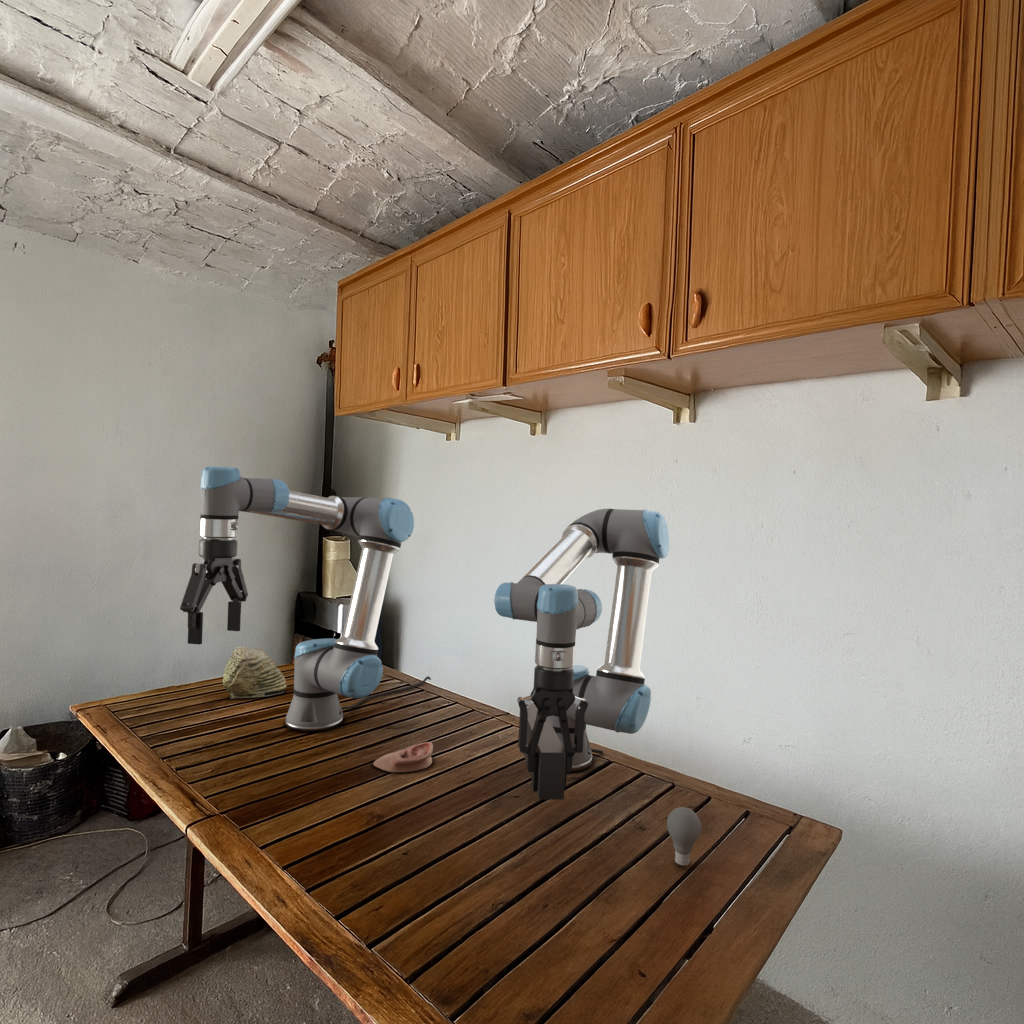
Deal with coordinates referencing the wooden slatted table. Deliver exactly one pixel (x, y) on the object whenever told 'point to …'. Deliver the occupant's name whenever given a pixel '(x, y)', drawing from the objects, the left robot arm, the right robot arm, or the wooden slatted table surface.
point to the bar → (548, 759)
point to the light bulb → (683, 832)
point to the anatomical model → (407, 759)
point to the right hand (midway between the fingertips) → (548, 787)
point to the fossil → (252, 674)
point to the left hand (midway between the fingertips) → (215, 637)
